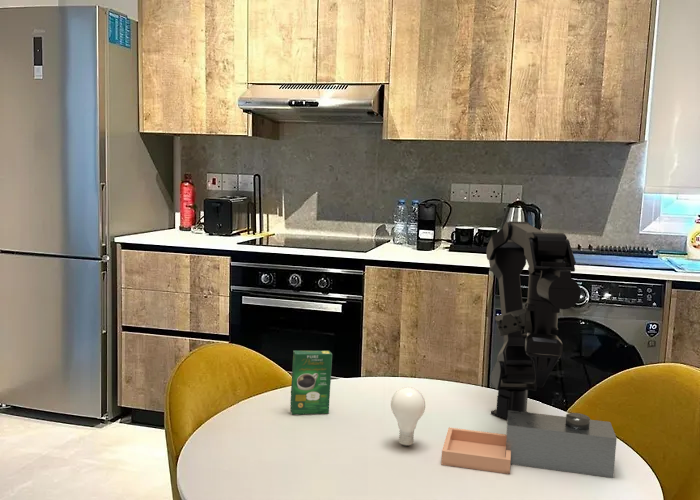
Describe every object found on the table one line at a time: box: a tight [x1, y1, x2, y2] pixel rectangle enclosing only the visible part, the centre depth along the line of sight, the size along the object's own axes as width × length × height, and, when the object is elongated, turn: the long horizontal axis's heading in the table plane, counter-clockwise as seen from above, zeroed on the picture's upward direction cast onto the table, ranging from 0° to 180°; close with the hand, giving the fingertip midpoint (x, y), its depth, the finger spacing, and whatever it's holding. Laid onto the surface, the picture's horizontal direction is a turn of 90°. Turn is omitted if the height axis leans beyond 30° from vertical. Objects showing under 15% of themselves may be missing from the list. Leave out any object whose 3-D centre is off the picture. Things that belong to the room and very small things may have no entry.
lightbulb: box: [390, 386, 426, 447], centre depth 124 cm, size 6×6×11 cm
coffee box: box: [289, 350, 333, 416], centre depth 139 cm, size 8×3×13 cm, turn 102°
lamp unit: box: [505, 410, 618, 479], centre depth 120 cm, size 18×8×9 cm, turn 76°
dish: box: [440, 426, 511, 475], centre depth 121 cm, size 12×12×2 cm
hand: (537, 379), depth 128 cm, fingers open, 9 cm apart
